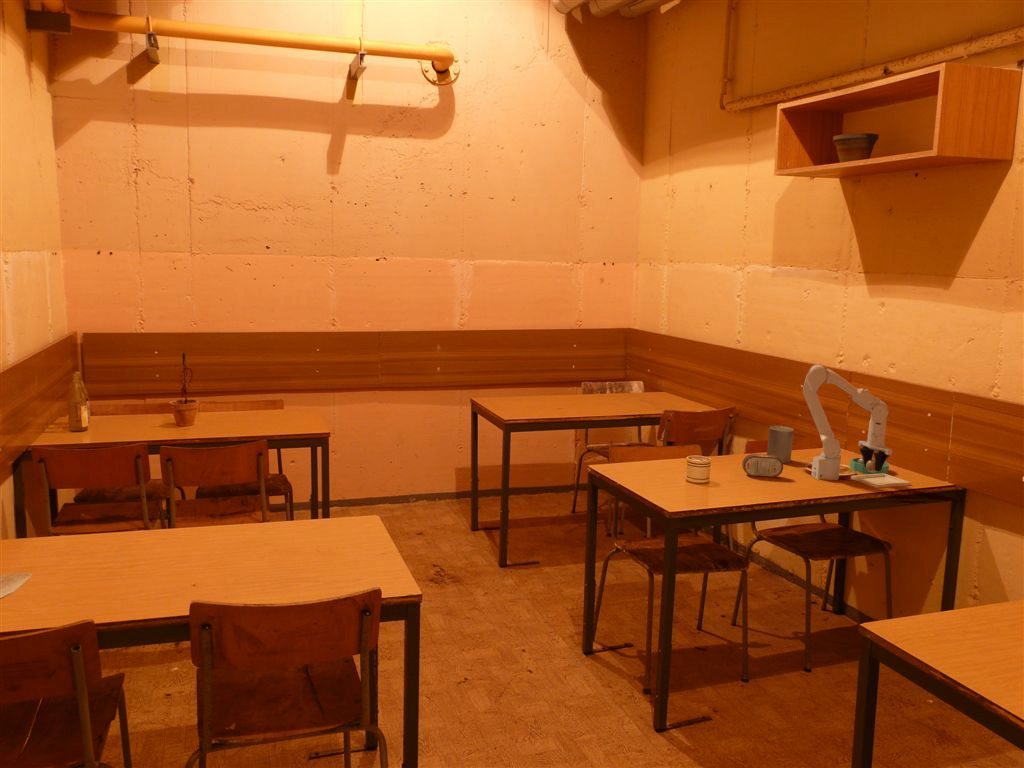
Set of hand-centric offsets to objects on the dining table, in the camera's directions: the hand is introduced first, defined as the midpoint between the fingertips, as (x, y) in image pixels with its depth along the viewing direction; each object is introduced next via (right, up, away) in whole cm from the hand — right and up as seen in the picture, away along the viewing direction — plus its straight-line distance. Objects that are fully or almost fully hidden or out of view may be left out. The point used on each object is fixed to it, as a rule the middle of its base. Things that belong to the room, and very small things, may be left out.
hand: (872, 469), depth 308 cm
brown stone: (0, -1, 0) cm, 1 cm away
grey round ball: (+5, -2, +19) cm, 19 cm away
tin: (-39, -4, +7) cm, 40 cm away
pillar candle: (-24, 0, +33) cm, 41 cm away
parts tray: (+4, -6, +2) cm, 7 cm away
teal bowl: (+7, -3, +20) cm, 21 cm away
